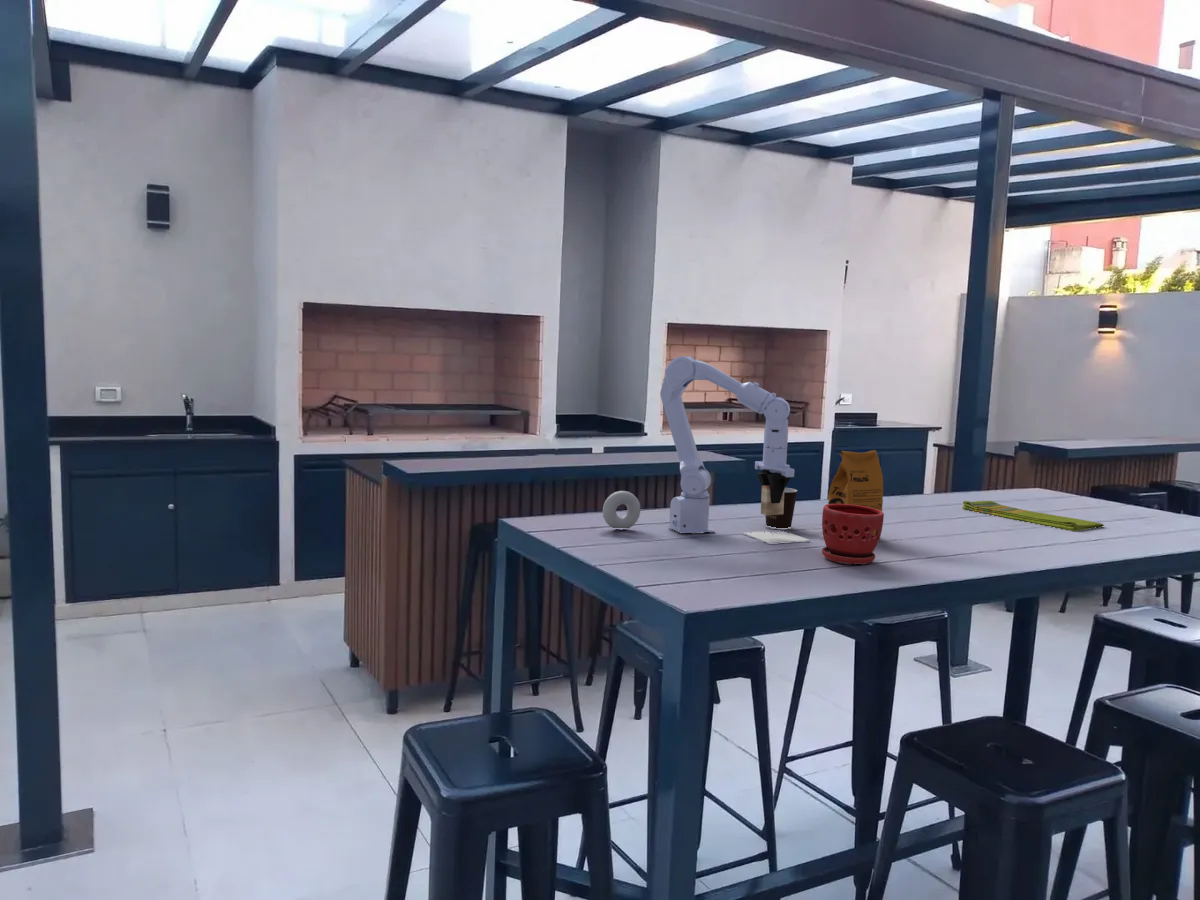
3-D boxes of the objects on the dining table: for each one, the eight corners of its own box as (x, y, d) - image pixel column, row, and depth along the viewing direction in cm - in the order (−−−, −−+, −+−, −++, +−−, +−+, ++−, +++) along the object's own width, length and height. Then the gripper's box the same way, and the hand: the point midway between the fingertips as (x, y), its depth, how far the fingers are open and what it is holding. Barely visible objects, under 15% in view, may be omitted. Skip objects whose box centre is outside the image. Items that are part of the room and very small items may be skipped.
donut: (636, 528, 234) (638, 489, 233) (641, 530, 231) (643, 491, 230) (599, 529, 231) (601, 490, 230) (604, 532, 228) (606, 492, 226)
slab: (766, 515, 225) (767, 487, 225) (760, 513, 228) (761, 485, 227) (783, 514, 227) (784, 486, 226) (778, 512, 229) (779, 484, 229)
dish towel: (992, 507, 288) (992, 497, 287) (1105, 529, 257) (1106, 517, 257) (960, 511, 279) (961, 500, 279) (1073, 533, 249) (1074, 522, 249)
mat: (768, 544, 220) (768, 542, 220) (742, 534, 231) (742, 532, 231) (810, 541, 224) (810, 540, 224) (782, 531, 235) (782, 530, 235)
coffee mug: (798, 531, 237) (800, 492, 236) (764, 529, 237) (766, 491, 236) (789, 522, 249) (791, 485, 248) (757, 521, 249) (759, 484, 248)
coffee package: (820, 534, 234) (825, 448, 232) (861, 532, 238) (866, 448, 236) (842, 542, 225) (848, 453, 222) (885, 540, 229) (891, 452, 227)
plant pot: (839, 569, 198) (843, 514, 196) (809, 554, 210) (812, 503, 209) (892, 566, 201) (896, 512, 200) (859, 553, 214) (862, 502, 213)
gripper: (806, 450, 220) (802, 506, 222) (772, 443, 234) (769, 496, 235) (781, 451, 218) (778, 507, 219) (748, 444, 231) (746, 497, 233)
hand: (772, 502), depth 227 cm, fingers closed on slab, 2 cm apart
